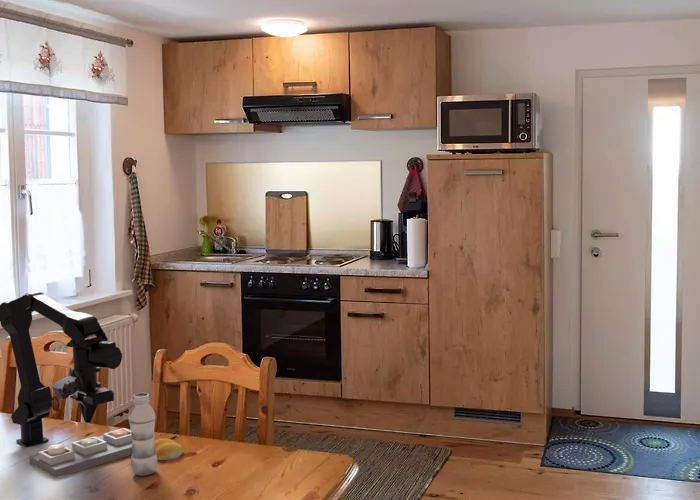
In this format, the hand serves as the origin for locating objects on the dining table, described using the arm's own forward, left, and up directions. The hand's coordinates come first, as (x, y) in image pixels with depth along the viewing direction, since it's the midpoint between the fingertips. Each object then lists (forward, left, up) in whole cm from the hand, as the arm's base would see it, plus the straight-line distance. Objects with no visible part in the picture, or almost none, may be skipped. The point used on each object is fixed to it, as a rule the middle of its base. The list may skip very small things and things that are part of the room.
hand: (87, 422), depth 218 cm
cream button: (+2, -10, -5) cm, 11 cm away
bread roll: (+16, +13, -9) cm, 22 cm away
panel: (+2, -1, -9) cm, 9 cm away
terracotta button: (+2, +8, -6) cm, 10 cm away
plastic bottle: (+23, +2, -9) cm, 25 cm away
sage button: (+2, -1, -6) cm, 7 cm away
